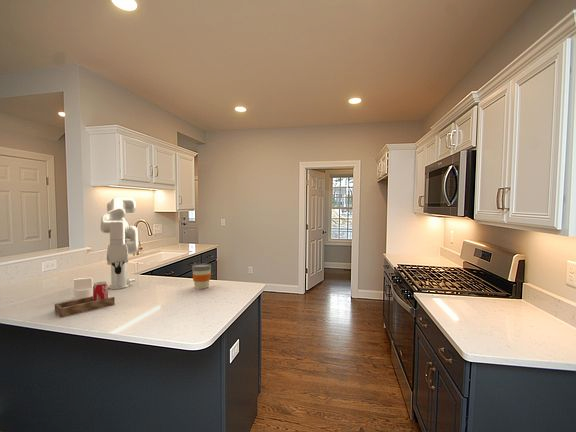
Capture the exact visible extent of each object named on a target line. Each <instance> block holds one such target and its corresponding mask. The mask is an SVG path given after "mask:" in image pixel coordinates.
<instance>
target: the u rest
mask: <svg viewBox="0 0 576 432" xmlns="http://www.w3.org/2000/svg"><path fill="white" fill-rule="evenodd" d="M115 301H116V299H115V296H110V297H108V298H106V299H101V300H96V301H93V296H91V297H86V298H81V299H76V300H74V299H72V300H67V301H62V302H57V303H54V312H55V313H56V315H58V316H59V317H60V318H62V317H63V318H64V317H67V316H70V315H71V316H72V315H75V314H80V313H83V312H88V311H93V310H96V309H101V308H104V307H109V306H114V305H115V304H116V303H115Z"/></svg>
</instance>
